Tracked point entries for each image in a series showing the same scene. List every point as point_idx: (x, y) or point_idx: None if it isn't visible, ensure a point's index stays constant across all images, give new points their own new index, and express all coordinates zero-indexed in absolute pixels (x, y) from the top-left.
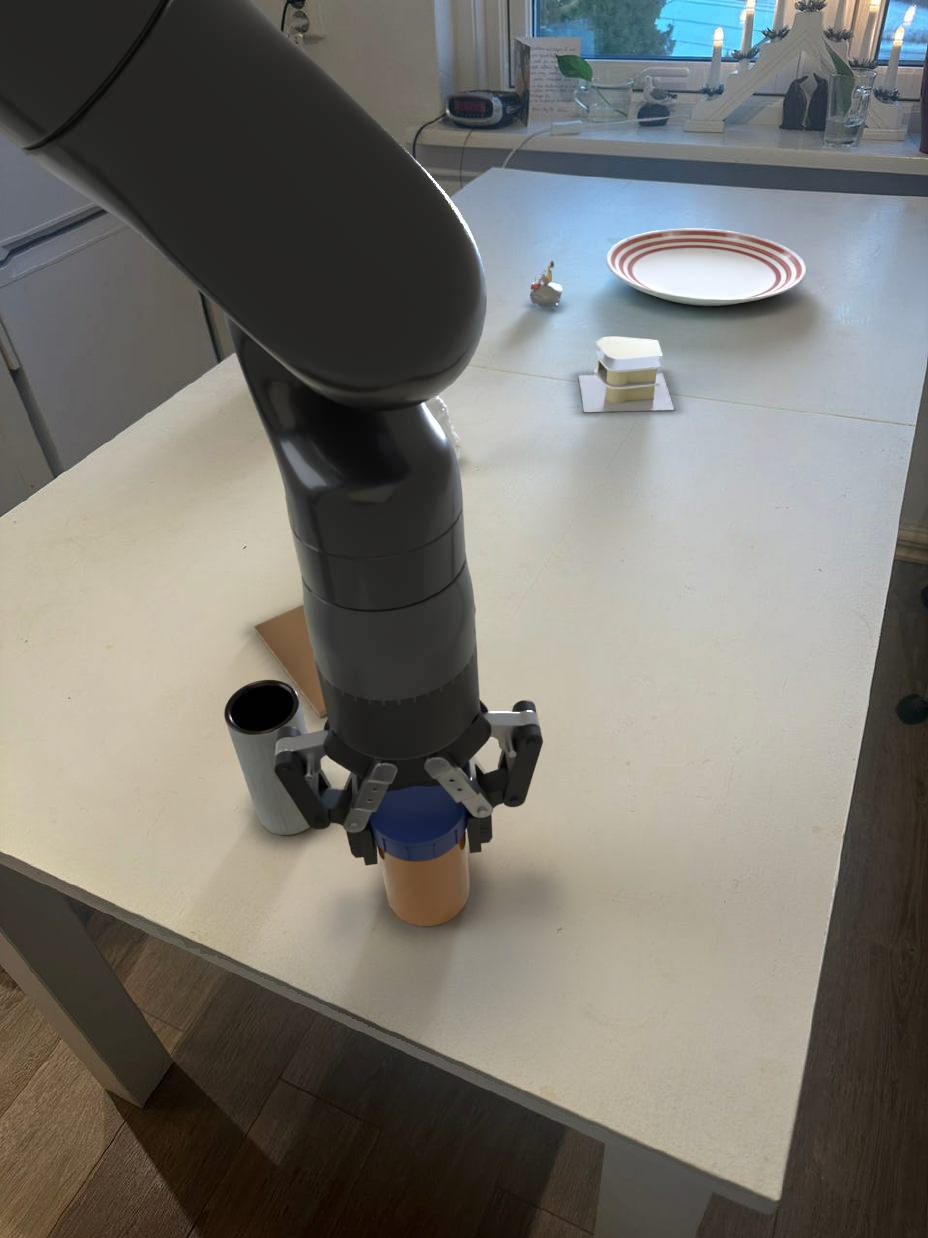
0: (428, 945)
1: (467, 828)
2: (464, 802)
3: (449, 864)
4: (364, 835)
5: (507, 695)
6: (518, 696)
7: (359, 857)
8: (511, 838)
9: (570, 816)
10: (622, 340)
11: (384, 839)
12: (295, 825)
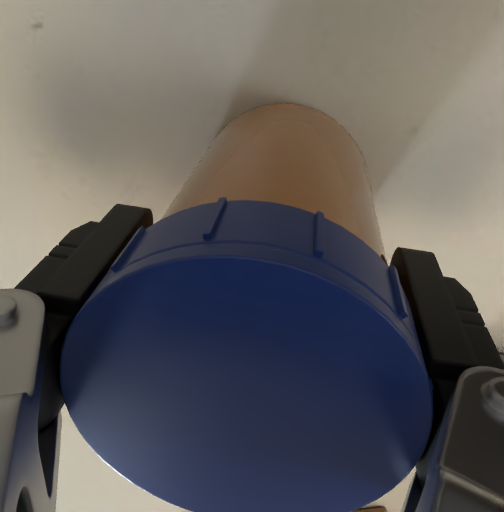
0: (311, 62)
1: None
2: (23, 374)
3: (201, 185)
4: (451, 344)
5: (95, 455)
6: (79, 449)
7: (444, 277)
8: None
9: (7, 249)
10: None
11: (397, 313)
12: None
